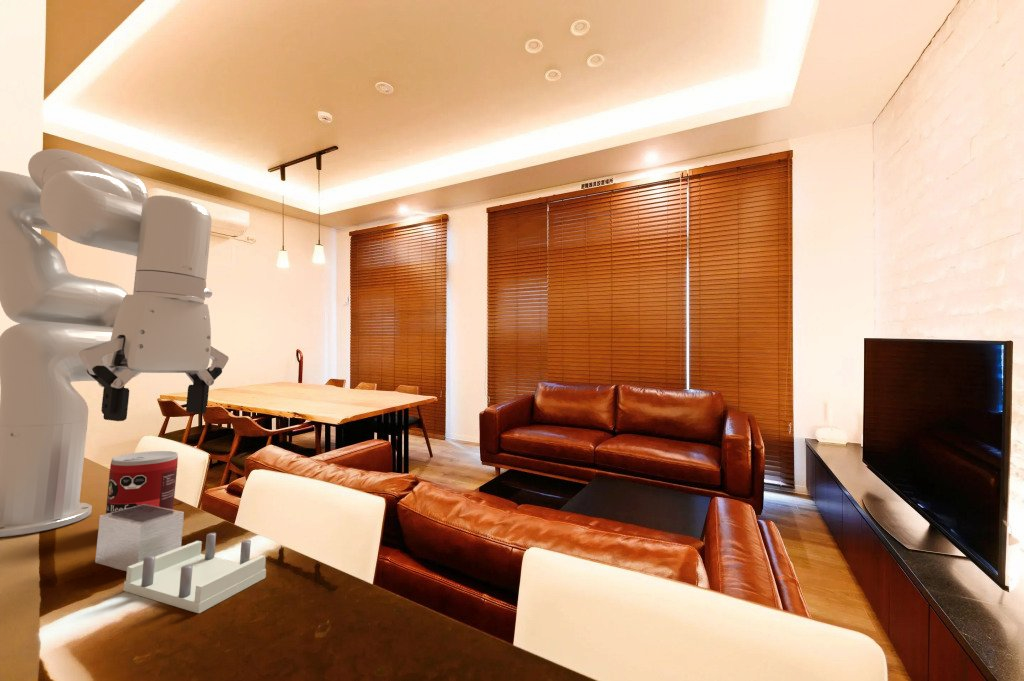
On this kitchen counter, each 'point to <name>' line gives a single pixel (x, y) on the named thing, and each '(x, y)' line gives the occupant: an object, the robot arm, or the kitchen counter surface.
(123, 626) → the kitchen counter surface
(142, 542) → the box
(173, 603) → the tray
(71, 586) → the kitchen counter surface
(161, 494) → the canned food
